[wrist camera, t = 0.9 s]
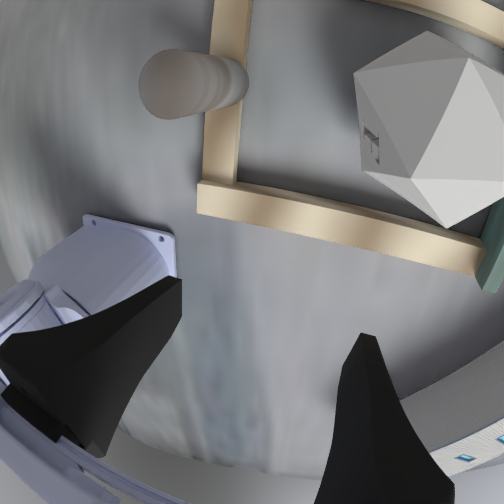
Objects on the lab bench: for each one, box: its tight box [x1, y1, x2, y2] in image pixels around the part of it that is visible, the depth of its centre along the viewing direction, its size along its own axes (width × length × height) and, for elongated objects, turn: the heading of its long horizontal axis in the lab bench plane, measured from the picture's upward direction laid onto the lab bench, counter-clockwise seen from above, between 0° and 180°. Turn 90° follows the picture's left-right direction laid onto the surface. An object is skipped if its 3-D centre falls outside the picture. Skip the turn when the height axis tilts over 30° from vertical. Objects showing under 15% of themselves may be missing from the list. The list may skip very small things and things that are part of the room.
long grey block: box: [400, 340, 504, 477], centre depth 19 cm, size 30×14×8 cm, turn 143°
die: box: [353, 31, 504, 229], centre depth 11 cm, size 8×9×10 cm
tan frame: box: [139, 0, 504, 294], centre depth 12 cm, size 20×16×7 cm
